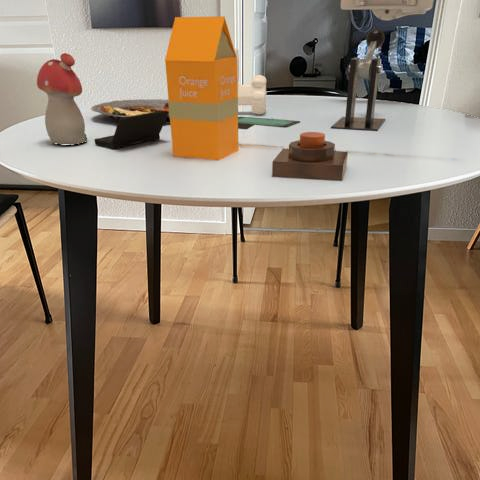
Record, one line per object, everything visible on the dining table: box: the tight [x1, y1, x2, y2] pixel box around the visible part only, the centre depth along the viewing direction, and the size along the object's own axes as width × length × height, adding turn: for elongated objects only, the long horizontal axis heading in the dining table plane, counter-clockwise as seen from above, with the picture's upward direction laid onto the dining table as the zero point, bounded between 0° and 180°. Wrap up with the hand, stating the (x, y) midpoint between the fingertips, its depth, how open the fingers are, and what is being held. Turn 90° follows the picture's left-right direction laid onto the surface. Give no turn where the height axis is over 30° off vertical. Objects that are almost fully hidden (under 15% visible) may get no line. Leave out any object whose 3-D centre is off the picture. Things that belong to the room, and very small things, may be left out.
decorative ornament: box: [36, 52, 88, 145], centre depth 90 cm, size 9×7×15 cm
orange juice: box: [164, 15, 239, 161], centre depth 80 cm, size 8×9×20 cm
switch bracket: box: [330, 57, 386, 132], centre depth 98 cm, size 12×9×13 cm
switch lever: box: [357, 28, 385, 80], centre depth 98 cm, size 14×4×4 cm, turn 159°
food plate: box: [90, 98, 170, 120], centre depth 116 cm, size 25×23×4 cm
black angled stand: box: [94, 110, 168, 149], centre depth 91 cm, size 12×7×10 cm
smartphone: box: [238, 116, 301, 130], centre depth 105 cm, size 7×1×15 cm
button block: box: [271, 139, 349, 182], centre depth 73 cm, size 10×8×4 cm
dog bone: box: [238, 74, 268, 115], centre depth 117 cm, size 15×9×8 cm, turn 85°
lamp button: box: [299, 131, 326, 148], centre depth 72 cm, size 4×4×2 cm
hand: (383, 0), depth 106 cm, fingers open, 8 cm apart
